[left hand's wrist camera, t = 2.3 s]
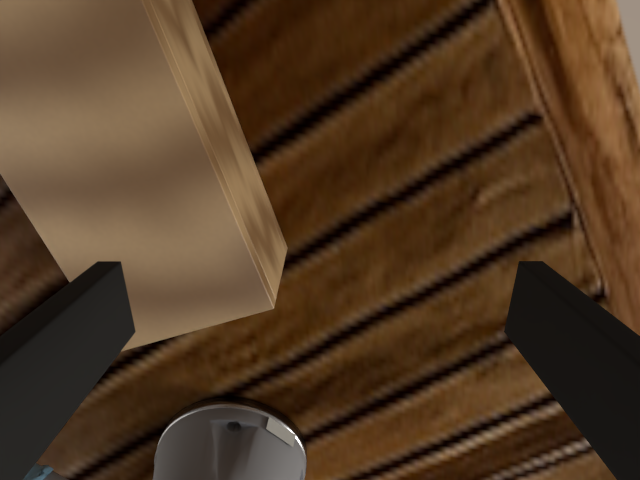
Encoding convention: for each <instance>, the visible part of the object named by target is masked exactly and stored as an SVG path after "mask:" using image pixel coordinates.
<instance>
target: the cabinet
mask: <svg viewBox="0 0 640 480" xmlns="http://www.w3.org/2000/svg"><path fill="white" fill-rule="evenodd" d="M0 174H1V176H2V177H3V179H4V180H5V182H6V183H7V185H8V187H9V188H10V190H11V191H12V193H13V194H14V196H15V198H16V199H17V201H18V202H19V204H20V205H21V207H22V208H23V210H24V212H25V213H26V215H27V216H28V218H29V219H30V221H31V223H32V224H33V226H34V227H35V229H36V230H37V232H38V234H39V235H40V237H41V238H42V240H43V241H44V243H45V244H46V246H47V248H48V249H49V251H50V252H51V254H52V255H53V257H54V259H55V260H56V262H57V263H58V265H59V266H60V268H61V269H62V271H63V273H64V274H65V276H66V277H67V279H68V280H69V282H71V281H73V280H74V279H75V278H77V277H78V276H79V275H80V274H82V273H83V272H84V271H86V270H87V269H88V268H90V267H91V266H92V265H93V264H95V263H96V262H97V261H121V264H122V269H123V274H124V279H125V283H126V288H127V293H128V298H129V302H130V307H131V312H132V317H133V321H134V326H135V331H136V332H135V333H134V335H133V336H132V337H131V339H130V340H129V341H128V342H127V344H126V345H125V346H124V348H123V349H122V350H121V351H124V350H127V349H131V348H135V347H138V346H142V345H145V344H149V343H152V342H156V341H160V340H163V339H167V338H170V337H174V336H178V335H181V334H185V333H188V332H192V331H196V330H199V329H203V328H206V327H210V326H213V325H217V324H221V323H224V322H228V321H231V320H235V319H239V318H242V317H246V316H249V315H253V314H257V313H260V312H264V311H267V310H271V309H274V306H275V302H276V297H277V292H278V288H279V283H280V279H281V274H282V270H283V266H284V261H285V257H286V253H287V245H286V243H285V240H284V237H283V235H282V232H281V230H280V227H279V224H278V222H277V219H276V217H275V214H274V211H273V209H272V206H271V204H270V201H269V198H268V196H267V193H266V191H265V188H264V186H263V183H262V180H261V178H260V175H259V173H258V170H257V167H256V165H255V162H254V160H253V157H252V154H251V152H250V149H249V147H248V144H247V142H246V139H245V136H244V134H243V131H242V129H241V126H240V123H239V121H238V118H237V116H236V113H235V110H234V108H233V105H232V103H231V100H230V97H229V95H228V92H227V90H226V87H225V85H224V82H223V79H222V77H221V74H220V72H219V69H218V66H217V64H216V61H215V59H214V56H213V53H212V51H211V48H210V46H209V43H208V40H207V38H206V35H205V33H204V30H203V28H202V25H201V22H200V20H199V17H198V15H197V12H196V9H195V7H194V4H193V2H192V0H0Z"/></svg>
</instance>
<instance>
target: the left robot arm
mask: <svg viewBox="0 0 640 480" xmlns="http://www.w3.org/2000/svg"><path fill="white" fill-rule="evenodd" d="M135 332H136V331H135V326H134V321H133V317H132V312H131V307H130V302H129V298H128V293H127V288H126V283H125V279H124V274H123V269H122V264H121V261H97V262H96V263H95V264H93V265H92V266H91V267H90V268H88V269H87V270H86V271H84V272H83V273H82V274H80V275H79V276H78V277H77V278H75V279H74V280H73V281H71V282H70V283H69V284H67V285H66V286H65V287H64V288H62V289H61V290H60V291H58V292H57V293H56V294H54V295H53V296H52V297H51V298H49V299H48V300H47V301H45V302H44V303H43V304H41V305H40V306H39V307H38V308H36V309H35V310H34V311H32V312H31V313H30V314H28V315H27V316H26V317H25V318H23V319H22V320H21V321H19V322H18V323H17V324H15V325H14V326H13V327H12V328H10V329H9V330H8V331H6V332H5V333H4V334H3V335H1V336H0V480H68V479H66V478H64V477H63V476H61V475H59V474H57V473H55V472H53V471H52V470H53V468H51V467H49V465H42V466H41V465H38V464H36V462H37V460H38V459H39V458H40V457H41V455H42V454H43V453H44V451H45V450H46V449H47V447H48V446H49V445H50V443H51V442H52V441H53V440H54V438H55V437H56V436H57V434H58V433H59V432H60V430H61V429H62V428H63V426H64V425H65V424H66V422H67V421H68V420H69V419H70V417H71V416H72V415H73V413H74V412H75V411H76V409H77V408H78V407H79V405H80V404H81V403H82V401H83V400H84V399H85V398H86V396H87V395H88V394H89V392H90V391H91V390H92V388H93V387H94V386H95V384H96V383H97V382H98V381H99V379H100V378H101V377H102V375H103V374H104V373H105V371H106V370H107V369H108V367H109V366H110V365H111V363H112V362H113V361H114V360H115V358H116V357H117V356H118V354H119V353H120V352H121V350H122V349H123V348H124V346H125V345H126V344H127V342H128V341H129V340H130V339H131V337H132V336H133V335H134V333H135ZM504 332H505V333H506V335H507V336H508V337H509V339H510V340H511V341H512V342H513V344H514V345H515V346H516V348H517V349H518V350H519V352H520V353H521V354H522V356H523V357H524V358H525V360H526V361H527V362H528V363H529V365H530V366H531V367H532V369H533V370H534V371H535V373H536V374H537V375H538V377H539V378H540V379H541V381H542V382H543V383H544V384H545V386H546V387H547V388H548V390H549V391H550V392H551V394H552V395H553V396H554V398H555V399H556V400H557V401H558V403H559V404H560V405H561V407H562V408H563V409H564V411H565V412H566V413H567V415H568V416H569V417H570V419H571V420H572V421H573V422H574V424H575V425H576V426H577V428H578V429H579V430H580V432H581V433H582V434H583V436H584V437H585V438H586V440H587V441H588V442H589V443H590V445H591V446H592V447H593V449H594V450H595V451H596V453H597V454H598V455H599V457H600V458H601V459H602V460H603V462H604V463H605V464H606V466H607V467H608V468H609V470H610V471H611V472H612V474H613V475H614V476H615V478H616V479H617V480H640V336H639V335H637V334H636V333H635V332H634V331H632V330H631V329H630V328H628V327H627V326H626V325H625V324H623V323H622V322H621V321H619V320H618V319H617V318H615V317H614V316H613V315H612V314H610V313H609V312H608V311H606V310H605V309H604V308H602V307H601V306H600V305H599V304H597V303H596V302H595V301H593V300H592V299H591V298H589V297H588V296H587V295H586V294H584V293H583V292H582V291H580V290H579V289H578V288H576V287H575V286H574V285H573V284H571V283H570V282H569V281H567V280H566V279H565V278H563V277H562V276H561V275H560V274H558V273H557V272H556V271H554V270H553V269H552V268H550V267H549V266H548V265H547V264H545V263H544V262H543V261H519V264H518V269H517V274H516V279H515V283H514V288H513V293H512V298H511V302H510V307H509V312H508V317H507V321H506V326H505V331H504ZM306 463H307V450H306V445H305V441H304V439H303V437H302V435H301V433H300V431H299V430H298V429H297V427H296V426H295V425H294V424H293V423H292V422H291V421H290V420H289V419H288V418H287V417H286V416H284V415H283V414H282V413H280V412H278V411H277V410H275V409H273V408H271V407H269V406H267V405H264V404H262V403H259V402H256V401H252V400H248V399H242V398H227V397H224V398H213V399H208V400H203V401H200V402H197V403H194V404H192V405H190V406H188V407H186V408H184V409H183V410H181V411H180V412H178V413H177V414H176V415H175V416H174V417H173V418H172V419H171V420H170V421H169V423H168V424H167V426H166V428H165V430H164V432H163V434H162V436H161V438H160V441H159V443H158V447H157V450H156V453H155V459H154V476H153V480H304V478H305V473H306Z"/></svg>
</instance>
